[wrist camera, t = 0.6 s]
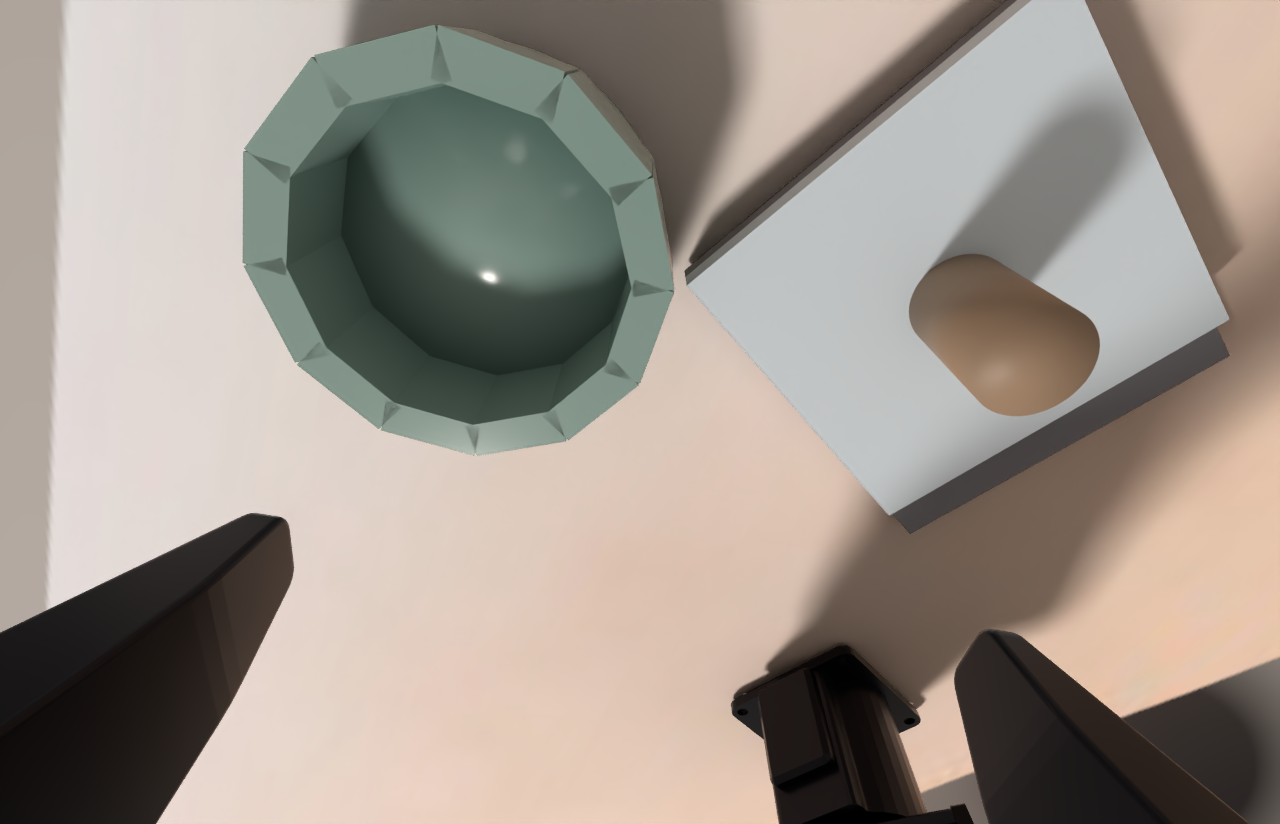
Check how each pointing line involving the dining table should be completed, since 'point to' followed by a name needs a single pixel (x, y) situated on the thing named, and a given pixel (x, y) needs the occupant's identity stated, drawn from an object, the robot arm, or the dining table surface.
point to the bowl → (458, 238)
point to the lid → (968, 260)
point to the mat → (1060, 430)
